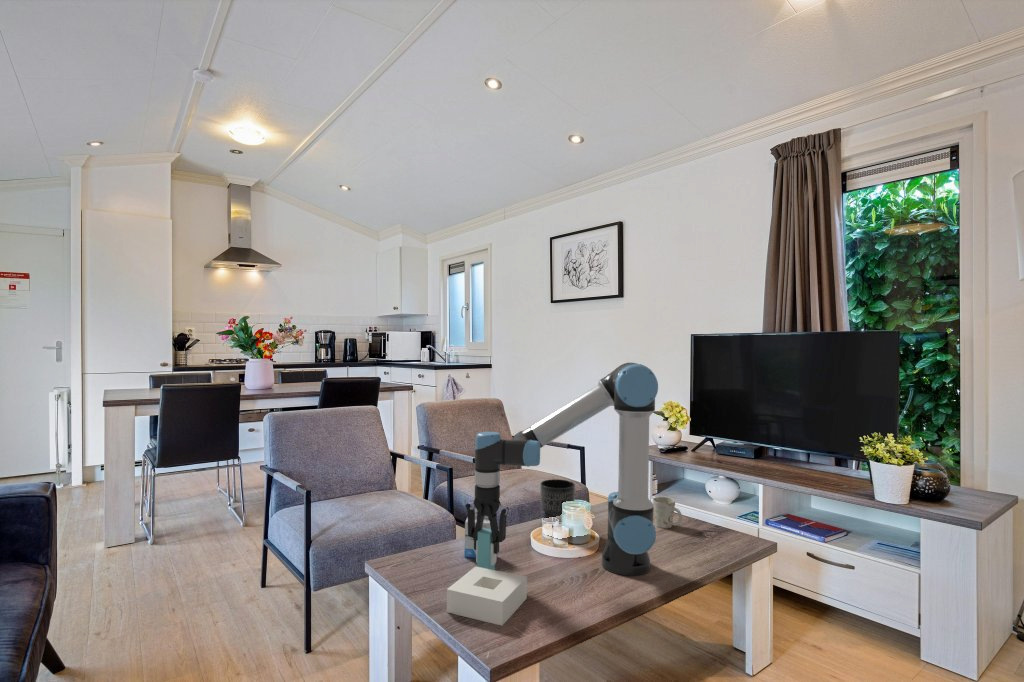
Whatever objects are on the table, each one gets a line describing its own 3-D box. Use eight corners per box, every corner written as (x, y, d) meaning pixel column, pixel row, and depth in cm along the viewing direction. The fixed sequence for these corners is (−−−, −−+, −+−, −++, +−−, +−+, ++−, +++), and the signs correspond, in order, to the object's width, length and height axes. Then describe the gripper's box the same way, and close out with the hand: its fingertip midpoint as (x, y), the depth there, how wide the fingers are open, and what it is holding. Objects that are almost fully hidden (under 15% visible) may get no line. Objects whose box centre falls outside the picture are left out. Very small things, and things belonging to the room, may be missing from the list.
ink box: (463, 557, 181) (464, 512, 181) (466, 551, 186) (467, 507, 186) (489, 559, 180) (490, 513, 180) (491, 553, 185) (492, 509, 185)
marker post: (494, 576, 167) (495, 529, 167) (489, 581, 164) (489, 534, 163) (483, 573, 169) (483, 527, 169) (477, 579, 165) (477, 532, 165)
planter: (537, 525, 213) (538, 479, 213) (571, 525, 214) (571, 479, 214) (541, 537, 200) (542, 488, 200) (577, 537, 201) (578, 488, 201)
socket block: (526, 598, 153) (526, 576, 153) (502, 625, 139) (502, 601, 139) (475, 587, 160) (475, 566, 160) (446, 612, 145) (447, 589, 145)
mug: (661, 520, 220) (661, 495, 220) (688, 529, 211) (689, 503, 211) (648, 525, 215) (648, 499, 215) (676, 534, 205) (676, 507, 205)
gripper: (518, 484, 166) (517, 562, 166) (468, 478, 173) (467, 553, 173) (508, 491, 159) (507, 572, 159) (456, 483, 166) (455, 561, 166)
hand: (486, 562), depth 166 cm, fingers closed on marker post, 4 cm apart
